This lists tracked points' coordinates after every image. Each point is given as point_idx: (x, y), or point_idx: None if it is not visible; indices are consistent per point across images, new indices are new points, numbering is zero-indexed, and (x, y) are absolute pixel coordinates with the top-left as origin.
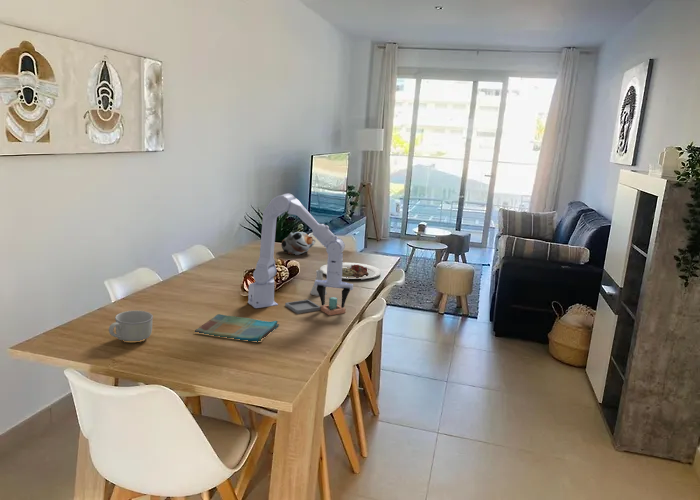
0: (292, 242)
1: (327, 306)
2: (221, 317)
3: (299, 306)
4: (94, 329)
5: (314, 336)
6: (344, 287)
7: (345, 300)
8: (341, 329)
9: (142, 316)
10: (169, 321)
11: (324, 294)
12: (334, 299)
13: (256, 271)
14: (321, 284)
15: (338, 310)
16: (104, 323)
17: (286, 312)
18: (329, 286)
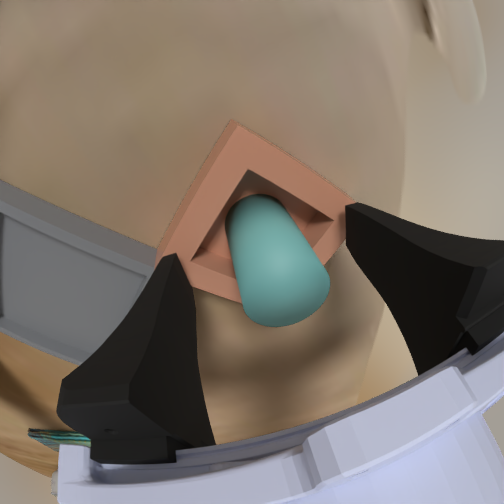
0: None
1: (204, 234)
2: (46, 440)
3: (37, 296)
4: (22, 459)
5: (299, 415)
6: (471, 366)
7: (396, 221)
8: (365, 355)
9: (57, 487)
10: (20, 443)
11: (170, 330)
12: (309, 309)
13: None
14: (158, 479)
15: (324, 260)
16: (5, 450)
17: (65, 360)
18: (275, 447)
